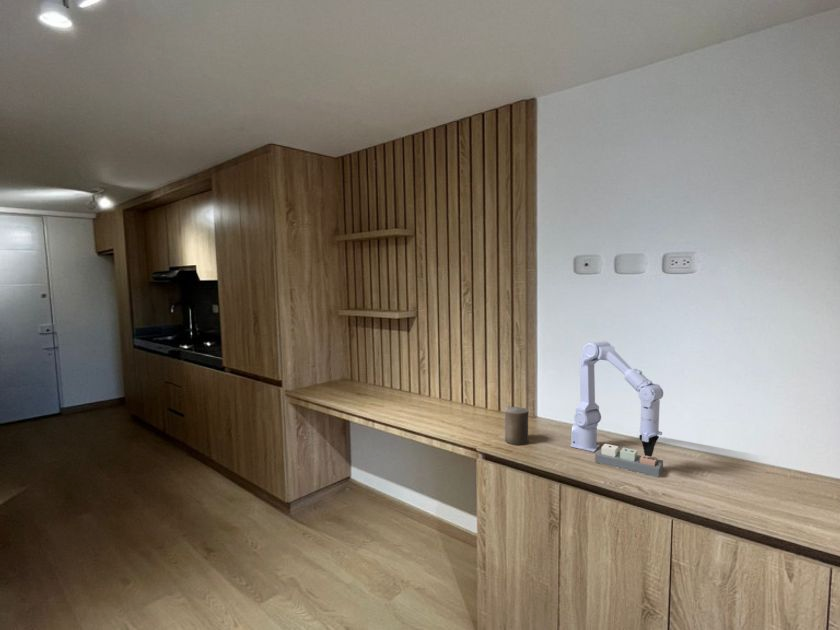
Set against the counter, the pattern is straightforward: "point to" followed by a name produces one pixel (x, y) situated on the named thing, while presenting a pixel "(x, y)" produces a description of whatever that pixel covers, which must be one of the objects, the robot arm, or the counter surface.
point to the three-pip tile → (648, 460)
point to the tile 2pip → (628, 454)
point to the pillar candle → (516, 425)
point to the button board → (629, 464)
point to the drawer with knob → (609, 450)
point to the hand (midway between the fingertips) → (648, 455)
